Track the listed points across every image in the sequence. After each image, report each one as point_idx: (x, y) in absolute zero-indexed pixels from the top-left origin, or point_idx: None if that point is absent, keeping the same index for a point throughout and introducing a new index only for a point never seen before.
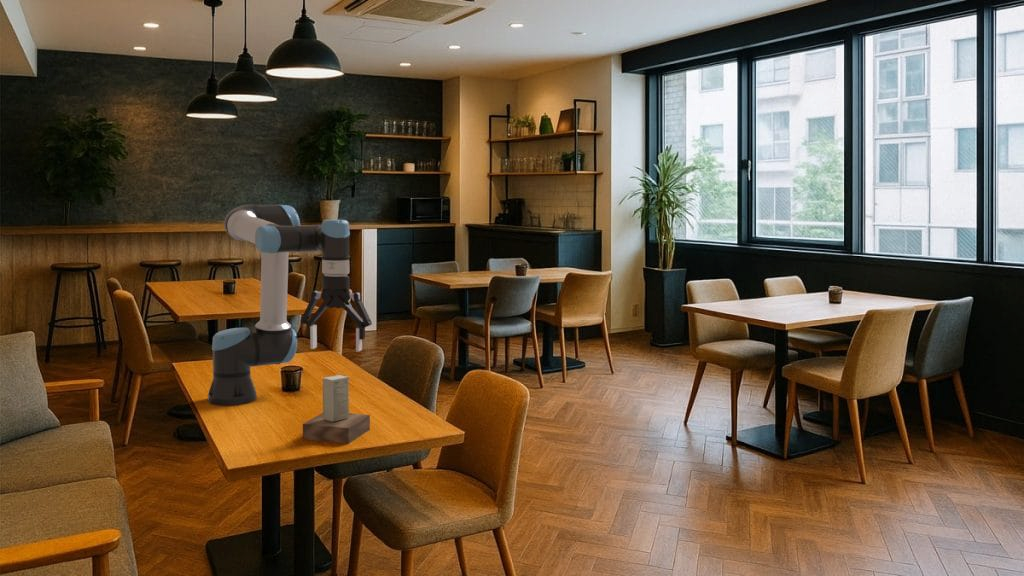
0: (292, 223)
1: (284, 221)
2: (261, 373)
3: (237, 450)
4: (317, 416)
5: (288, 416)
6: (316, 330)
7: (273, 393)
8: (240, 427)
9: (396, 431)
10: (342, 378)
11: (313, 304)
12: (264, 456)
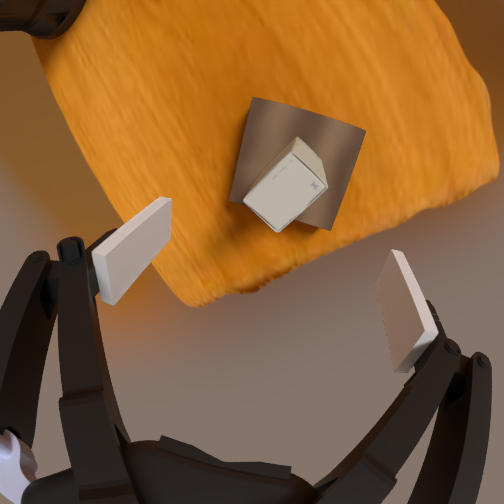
0: None
1: None
2: None
3: None
4: (244, 144)
5: (163, 49)
6: (125, 239)
7: None
8: (112, 135)
9: (412, 144)
10: (309, 204)
11: (30, 400)
12: (207, 274)
